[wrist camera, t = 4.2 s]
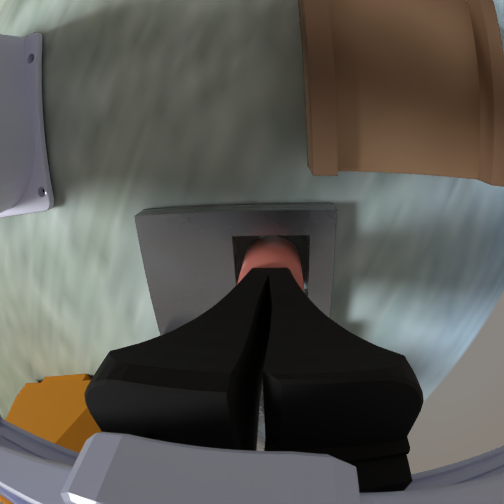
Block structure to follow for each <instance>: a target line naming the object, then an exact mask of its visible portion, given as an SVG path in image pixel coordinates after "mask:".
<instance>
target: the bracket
mask: <svg viewBox="0 0 504 504" xmlns="http://www.w3.org/2000/svg"><path fill="white" fill-rule="evenodd" d="M90 381H91V379H90V377H89V376H88V375H87V374H77V375H65V376H52V377H45V378H44V379H43V381H42V382H41V383H26V385H25V386H24V387H23V389H22V390H21V391H20V393H19V394H18V395H17V397H16V399H15V401H14V403H13V405H12V407H11V409H10V412H9V414H8V416H7V418H6V421H8V422H9V423H11V424H13V425H15V426H17V427H19V428H21V429H23V430H25V431H28V432H30V433H32V434H34V435H36V436H38V437H41V438H43V439H45V440H48V441H50V442H52V443H55V444H57V445H60V446H62V447H65V448H67V449H70V450H73V451H75V452H78V453H80V452H81V450H82V448H83V446H84V444H85V442H86V440H87V439H89V438H90V437H91V436H92V435H94V434H95V433H99V432H102V431H101V429H100V428H99V426H98V425H97V423H96V422H95V420H94V419H93V417H92V415H91V414H90V412H89V409H88V407H87V405H86V403H85V395H84V393H85V391H86V388H87V386H88V384H89V383H90ZM0 501H1V502H2V503H3V504H13V503H12V502H10V501H9V500H7V499H6V498H5V497H3V496H2V495H0Z"/></svg>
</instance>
